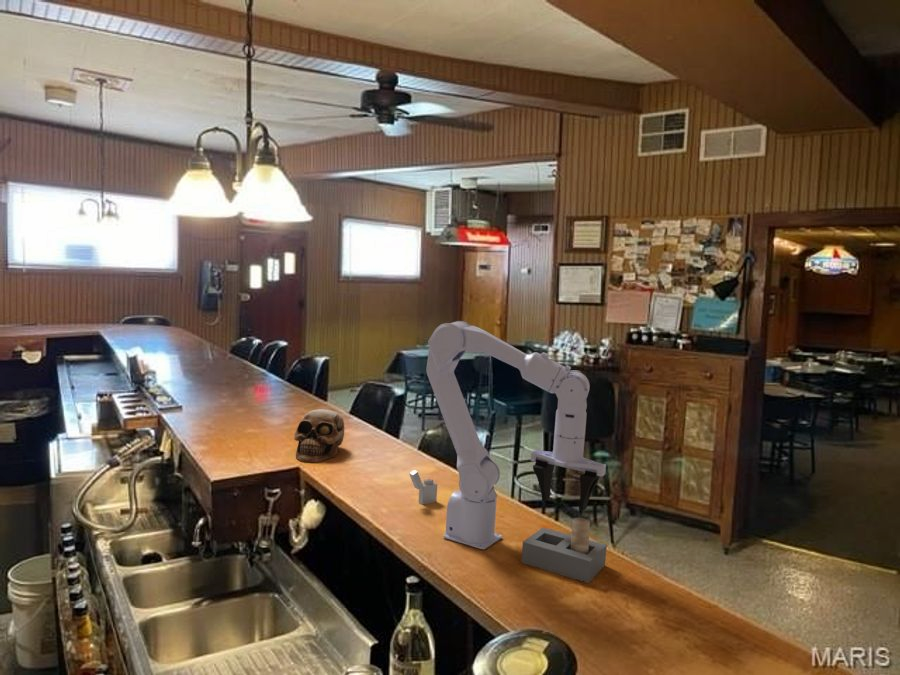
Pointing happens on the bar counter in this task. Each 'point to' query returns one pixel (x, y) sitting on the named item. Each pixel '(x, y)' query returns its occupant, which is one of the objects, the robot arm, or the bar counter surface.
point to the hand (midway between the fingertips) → (564, 504)
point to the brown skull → (319, 435)
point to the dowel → (580, 535)
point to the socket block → (563, 555)
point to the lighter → (424, 488)
